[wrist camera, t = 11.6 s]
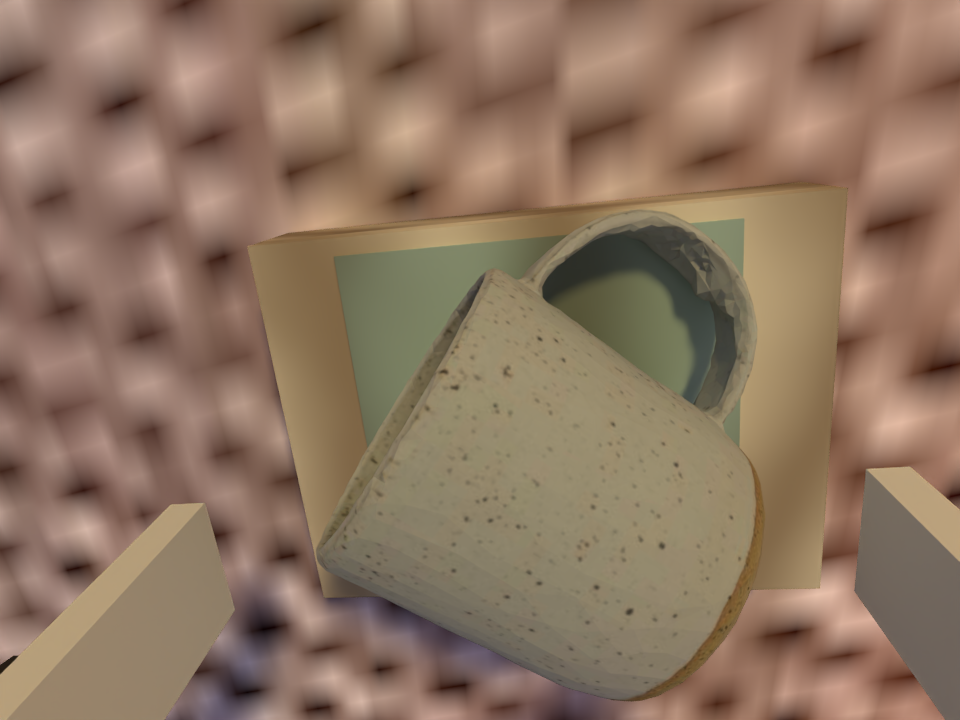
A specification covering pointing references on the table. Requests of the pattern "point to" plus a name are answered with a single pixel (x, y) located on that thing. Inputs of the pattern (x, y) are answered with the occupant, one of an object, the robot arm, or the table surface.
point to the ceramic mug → (565, 483)
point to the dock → (591, 303)
